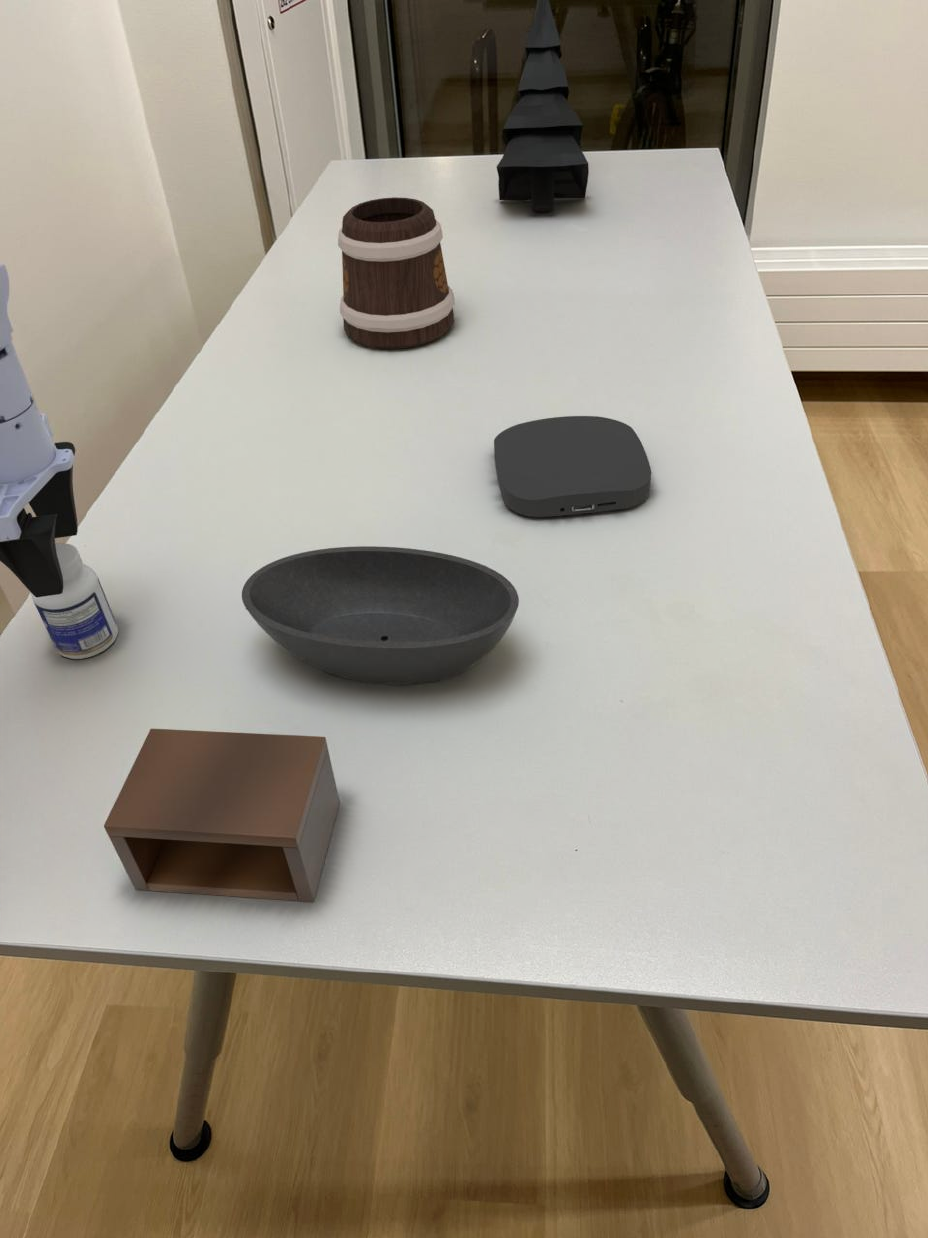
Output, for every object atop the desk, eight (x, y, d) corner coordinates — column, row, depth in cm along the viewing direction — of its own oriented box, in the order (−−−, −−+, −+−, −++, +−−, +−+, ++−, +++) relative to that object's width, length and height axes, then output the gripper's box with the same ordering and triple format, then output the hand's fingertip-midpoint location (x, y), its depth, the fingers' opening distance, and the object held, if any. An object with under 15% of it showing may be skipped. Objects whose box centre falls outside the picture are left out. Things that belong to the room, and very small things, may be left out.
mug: (449, 352, 119) (440, 230, 109) (331, 352, 121) (313, 232, 111) (466, 289, 134) (460, 177, 124) (361, 290, 136) (347, 179, 126)
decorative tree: (585, 222, 161) (587, 4, 158) (589, 191, 147) (591, -50, 143) (499, 225, 163) (499, 9, 159) (494, 195, 148) (494, -44, 145)
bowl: (508, 719, 72) (505, 659, 67) (233, 691, 75) (216, 633, 71) (530, 615, 80) (529, 556, 76) (284, 595, 84) (270, 538, 80)
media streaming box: (490, 445, 102) (488, 421, 100) (625, 432, 102) (626, 407, 100) (507, 524, 91) (506, 498, 89) (658, 509, 91) (661, 482, 89)
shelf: (134, 890, 62) (103, 826, 58) (176, 792, 68) (150, 728, 64) (314, 902, 61) (295, 837, 56) (340, 802, 67) (325, 736, 62)
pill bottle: (63, 623, 83) (26, 540, 77) (123, 616, 83) (91, 533, 78) (49, 664, 79) (10, 581, 73) (113, 657, 79) (79, 573, 74)
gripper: (31, 453, 61) (97, 613, 70) (65, 355, 72) (118, 504, 81) (-83, 468, 60) (-2, 628, 69) (-31, 367, 71) (34, 516, 80)
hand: (57, 562), depth 75 cm, fingers open, 7 cm apart
